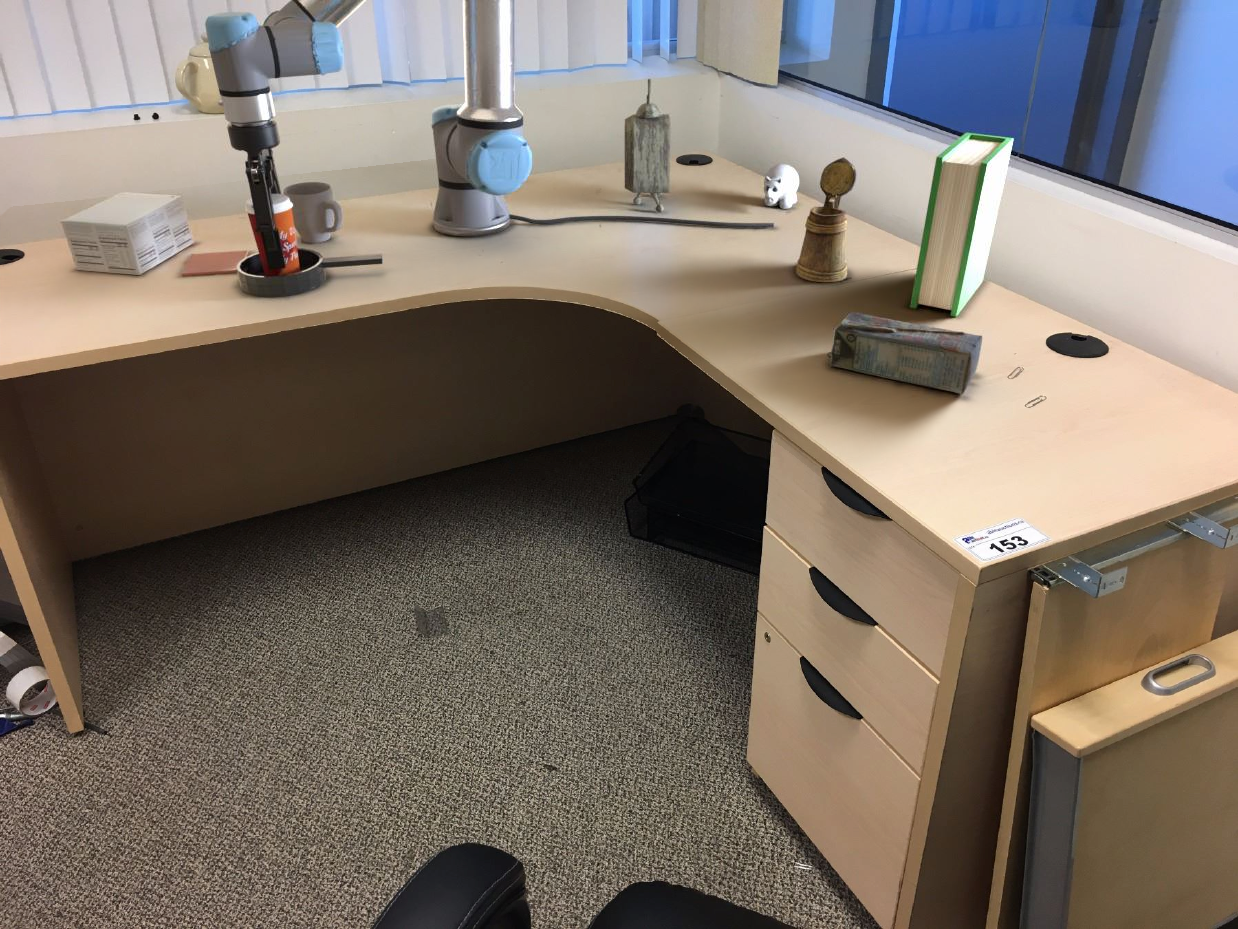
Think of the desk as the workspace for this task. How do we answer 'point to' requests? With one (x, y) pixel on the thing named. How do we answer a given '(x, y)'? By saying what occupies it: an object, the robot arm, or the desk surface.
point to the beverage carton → (906, 352)
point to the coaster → (213, 263)
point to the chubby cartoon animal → (781, 186)
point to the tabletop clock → (647, 151)
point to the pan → (284, 285)
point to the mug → (314, 210)
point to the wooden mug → (827, 228)
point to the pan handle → (352, 261)
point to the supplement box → (128, 233)
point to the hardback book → (960, 220)
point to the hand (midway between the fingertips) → (280, 258)
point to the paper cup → (286, 233)
